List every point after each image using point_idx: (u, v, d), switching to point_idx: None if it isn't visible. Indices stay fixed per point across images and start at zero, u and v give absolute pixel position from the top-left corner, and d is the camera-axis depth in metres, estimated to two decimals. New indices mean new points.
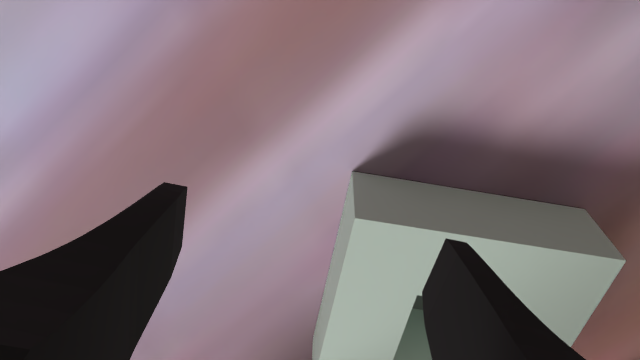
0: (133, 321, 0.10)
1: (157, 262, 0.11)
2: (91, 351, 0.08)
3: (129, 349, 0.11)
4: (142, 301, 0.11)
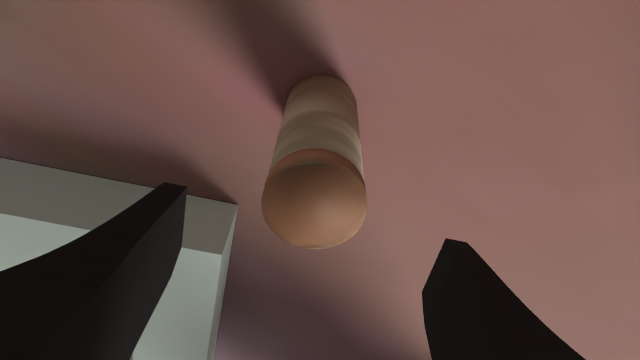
0: (133, 321, 0.10)
1: (157, 262, 0.11)
2: (91, 351, 0.08)
3: (129, 349, 0.11)
4: (142, 301, 0.11)
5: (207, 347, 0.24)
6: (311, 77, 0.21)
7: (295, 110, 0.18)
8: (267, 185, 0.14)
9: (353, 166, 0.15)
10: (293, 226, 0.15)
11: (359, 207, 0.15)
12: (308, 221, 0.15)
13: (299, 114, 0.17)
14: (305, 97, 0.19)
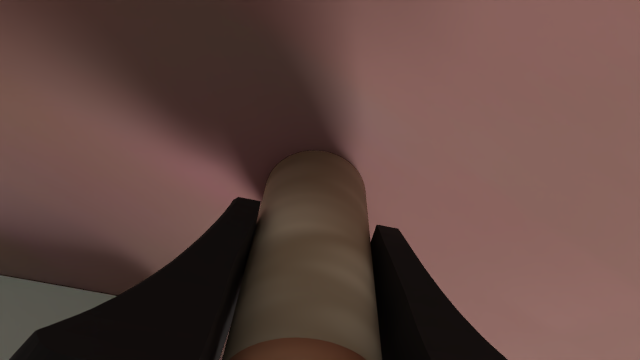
0: (221, 336, 0.11)
1: (239, 277, 0.11)
2: None
3: None
4: (227, 316, 0.11)
5: None
6: (300, 154, 0.14)
7: (273, 224, 0.12)
8: None
9: None
10: None
11: None
12: None
13: (277, 234, 0.11)
14: (289, 196, 0.12)
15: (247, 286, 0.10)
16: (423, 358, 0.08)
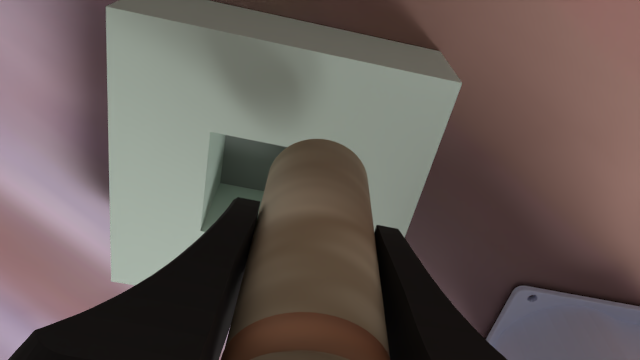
0: (221, 336, 0.11)
1: (239, 277, 0.11)
2: None
3: None
4: (227, 316, 0.11)
5: (408, 224, 0.19)
6: (309, 141, 0.14)
7: (284, 204, 0.12)
8: None
9: (379, 347, 0.08)
10: None
11: None
12: None
13: (290, 215, 0.11)
14: (300, 179, 0.12)
15: (258, 261, 0.10)
16: (423, 358, 0.08)
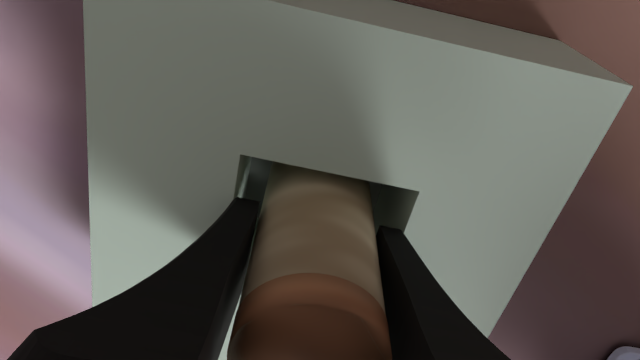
0: (220, 336, 0.11)
1: (238, 277, 0.11)
2: None
3: None
4: (227, 316, 0.11)
5: (515, 285, 0.14)
6: None
7: (289, 182, 0.13)
8: (240, 328, 0.09)
9: (376, 305, 0.10)
10: None
11: None
12: None
13: (295, 191, 0.12)
14: None
15: (267, 232, 0.11)
16: (427, 359, 0.08)
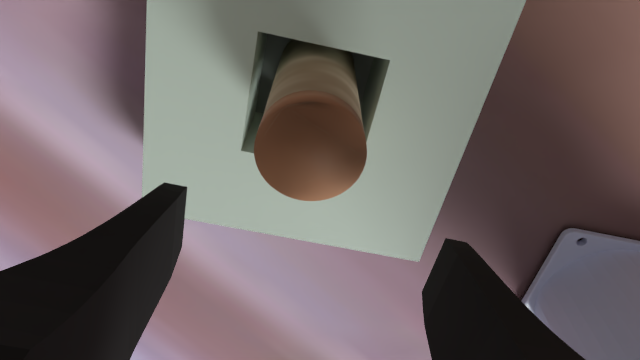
0: (133, 321, 0.10)
1: (157, 262, 0.11)
2: (91, 351, 0.08)
3: (129, 349, 0.11)
4: (142, 301, 0.11)
5: (466, 142, 0.18)
6: None
7: (294, 58, 0.17)
8: (263, 124, 0.13)
9: (356, 115, 0.14)
10: (285, 173, 0.14)
11: (358, 158, 0.14)
12: (302, 169, 0.14)
13: (298, 61, 0.16)
14: (304, 47, 0.18)
15: (279, 83, 0.15)
16: None
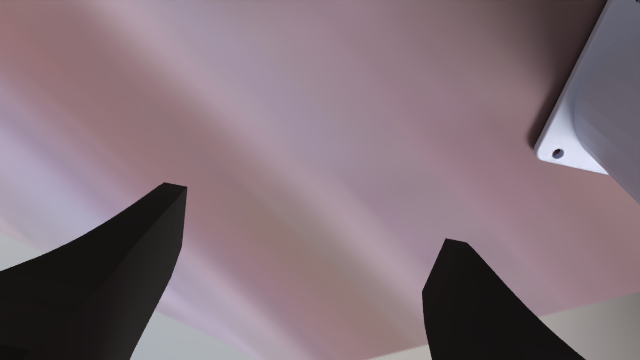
0: (133, 321, 0.10)
1: (157, 262, 0.11)
2: (91, 351, 0.08)
3: (129, 349, 0.11)
4: (142, 301, 0.11)
5: None
6: None
7: None
8: None
9: None
10: None
11: None
12: None
13: None
14: None
15: None
16: None
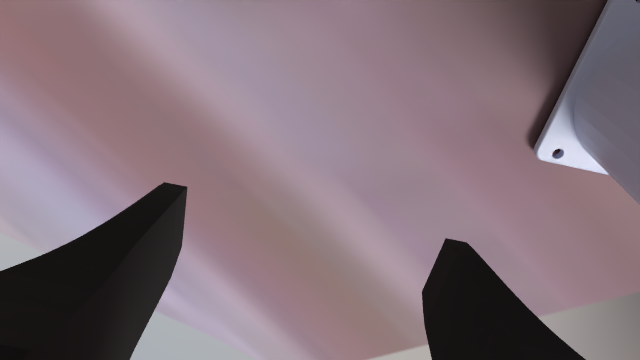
0: (133, 321, 0.10)
1: (157, 262, 0.11)
2: (91, 351, 0.08)
3: (129, 349, 0.11)
4: (142, 301, 0.11)
5: None
6: None
7: None
8: None
9: None
10: None
11: None
12: None
13: None
14: None
15: None
16: None
